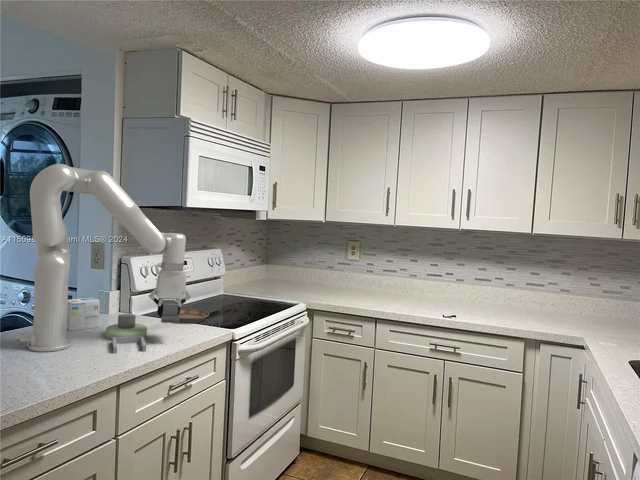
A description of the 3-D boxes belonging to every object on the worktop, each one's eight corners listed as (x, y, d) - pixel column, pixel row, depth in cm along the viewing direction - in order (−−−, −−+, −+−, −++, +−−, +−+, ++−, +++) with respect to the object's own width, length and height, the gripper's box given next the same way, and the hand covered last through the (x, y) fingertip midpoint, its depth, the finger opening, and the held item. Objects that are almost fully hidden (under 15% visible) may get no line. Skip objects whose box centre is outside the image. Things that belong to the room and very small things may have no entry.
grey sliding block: (161, 322, 163) (163, 305, 162) (158, 315, 172) (159, 299, 171) (179, 322, 165) (180, 305, 165) (174, 315, 174) (176, 300, 174)
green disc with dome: (106, 353, 151) (107, 332, 150) (105, 331, 175) (106, 313, 174) (152, 350, 157) (153, 330, 156) (144, 330, 181) (145, 312, 180)
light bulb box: (93, 323, 184) (94, 296, 184) (99, 327, 180) (100, 300, 179) (63, 327, 177) (64, 299, 176) (69, 331, 172) (70, 302, 171)
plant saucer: (196, 313, 215) (197, 307, 215) (216, 322, 202) (216, 315, 202) (159, 317, 203) (160, 310, 203) (177, 326, 190) (178, 319, 190)
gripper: (148, 267, 161) (144, 319, 162) (198, 269, 169) (193, 319, 170) (146, 264, 168) (142, 314, 169) (194, 266, 176) (190, 314, 177)
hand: (168, 316), depth 169 cm, fingers closed on grey sliding block, 5 cm apart
